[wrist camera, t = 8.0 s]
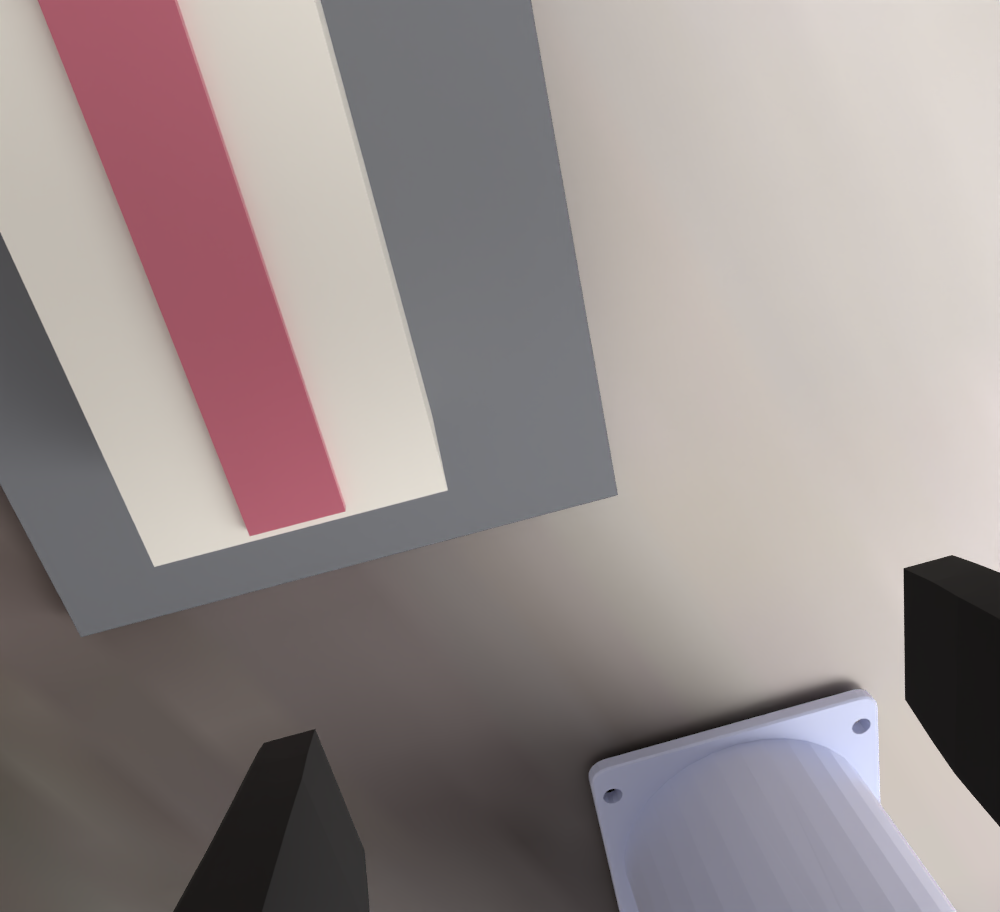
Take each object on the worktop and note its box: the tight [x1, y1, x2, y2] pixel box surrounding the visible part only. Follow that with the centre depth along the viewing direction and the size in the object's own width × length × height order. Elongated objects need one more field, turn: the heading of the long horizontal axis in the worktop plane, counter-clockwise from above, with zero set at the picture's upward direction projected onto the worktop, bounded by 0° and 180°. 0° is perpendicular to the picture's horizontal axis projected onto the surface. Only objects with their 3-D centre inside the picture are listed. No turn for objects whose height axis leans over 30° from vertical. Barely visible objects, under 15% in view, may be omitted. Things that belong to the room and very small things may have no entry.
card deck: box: [0, 0, 448, 567], centre depth 14 cm, size 5×9×4 cm, turn 12°
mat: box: [0, 0, 618, 637], centre depth 16 cm, size 14×12×1 cm
